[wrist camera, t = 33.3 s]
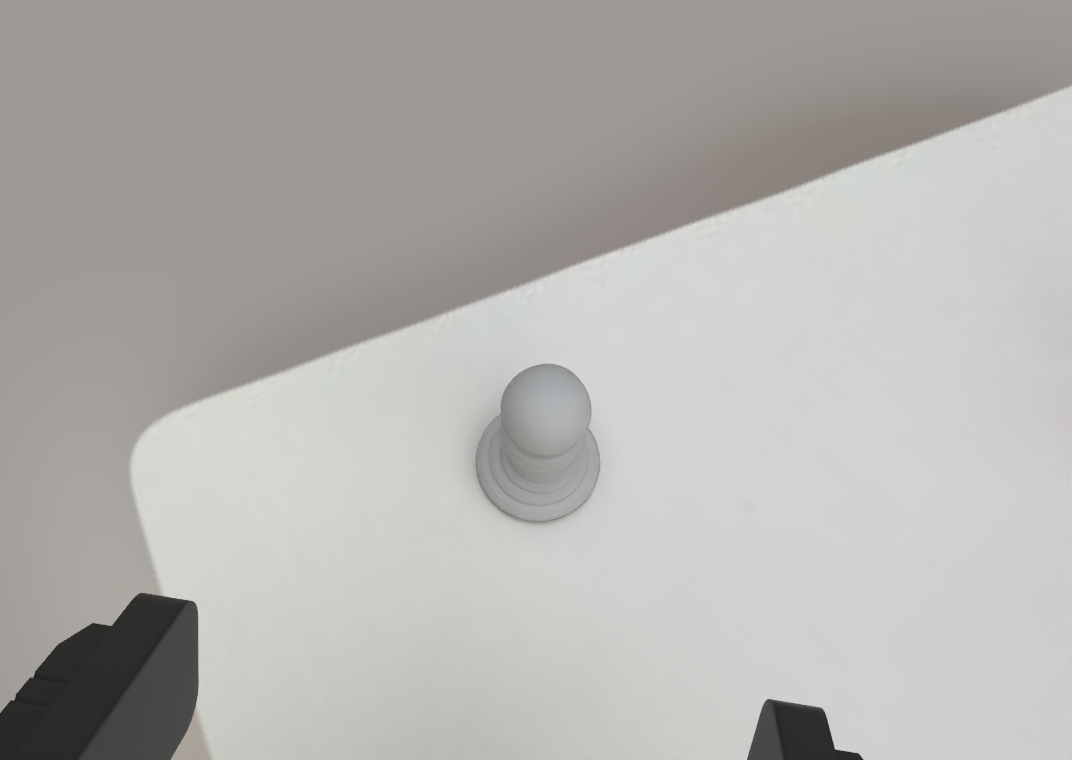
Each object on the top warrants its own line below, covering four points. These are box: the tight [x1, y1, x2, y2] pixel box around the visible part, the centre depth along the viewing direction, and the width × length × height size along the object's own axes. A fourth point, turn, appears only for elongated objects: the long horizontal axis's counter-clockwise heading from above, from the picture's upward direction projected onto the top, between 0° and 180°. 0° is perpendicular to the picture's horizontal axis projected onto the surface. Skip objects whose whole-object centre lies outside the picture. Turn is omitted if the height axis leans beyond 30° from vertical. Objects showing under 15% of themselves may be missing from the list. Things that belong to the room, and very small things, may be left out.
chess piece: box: [476, 364, 600, 521], centre depth 38 cm, size 5×5×9 cm
